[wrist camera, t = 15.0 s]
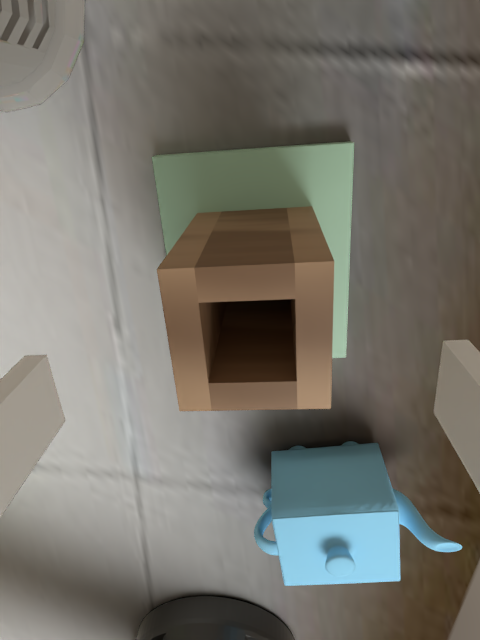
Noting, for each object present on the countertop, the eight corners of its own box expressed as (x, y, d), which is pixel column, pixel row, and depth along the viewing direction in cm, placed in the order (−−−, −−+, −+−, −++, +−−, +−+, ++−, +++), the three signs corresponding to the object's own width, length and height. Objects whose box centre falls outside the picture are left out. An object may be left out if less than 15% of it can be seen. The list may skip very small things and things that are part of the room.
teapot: (426, 428, 30) (471, 523, 23) (425, 494, 32) (465, 597, 25) (250, 443, 31) (244, 536, 24) (262, 505, 34) (260, 604, 27)
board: (343, 349, 27) (345, 357, 26) (185, 353, 28) (182, 361, 27) (350, 141, 22) (354, 142, 21) (156, 155, 23) (151, 157, 22)
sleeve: (312, 311, 25) (331, 408, 17) (208, 315, 26) (179, 411, 18) (312, 206, 23) (334, 261, 14) (197, 213, 23) (156, 269, 15)
